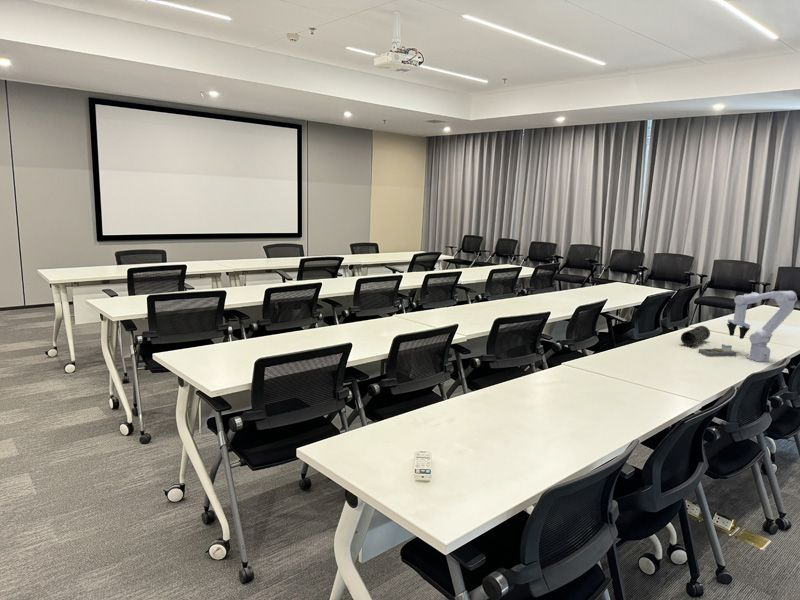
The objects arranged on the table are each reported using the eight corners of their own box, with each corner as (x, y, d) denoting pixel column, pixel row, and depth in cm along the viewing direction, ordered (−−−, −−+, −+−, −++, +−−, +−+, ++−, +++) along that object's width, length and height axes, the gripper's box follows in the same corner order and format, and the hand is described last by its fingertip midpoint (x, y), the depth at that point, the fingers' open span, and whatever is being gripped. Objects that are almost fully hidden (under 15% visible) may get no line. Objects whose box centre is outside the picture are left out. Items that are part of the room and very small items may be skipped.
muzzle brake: (679, 345, 341) (681, 329, 339) (694, 339, 360) (696, 324, 358) (695, 348, 334) (697, 332, 332) (710, 342, 353) (712, 326, 351)
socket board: (736, 356, 320) (736, 350, 319) (708, 356, 316) (708, 351, 316) (725, 352, 327) (726, 347, 327) (698, 352, 324) (699, 347, 323)
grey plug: (730, 355, 321) (732, 345, 320) (725, 355, 321) (726, 345, 320) (725, 353, 325) (727, 343, 324) (720, 353, 324) (721, 343, 323)
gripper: (724, 312, 329) (721, 334, 331) (743, 317, 315) (740, 340, 318) (734, 312, 330) (731, 334, 333) (754, 317, 316) (750, 339, 319)
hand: (736, 337), depth 325 cm, fingers open, 7 cm apart
